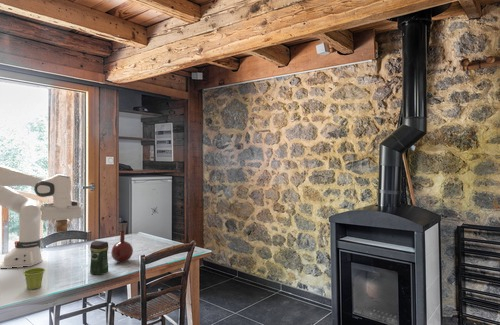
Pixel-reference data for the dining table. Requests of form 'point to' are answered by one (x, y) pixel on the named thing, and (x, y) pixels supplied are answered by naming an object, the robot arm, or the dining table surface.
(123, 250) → the round-bottom flask
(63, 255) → the dining table surface
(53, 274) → the dining table surface
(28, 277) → the plant pot
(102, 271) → the coffee jar
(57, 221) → the walnut box
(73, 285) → the dining table surface
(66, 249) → the dining table surface
